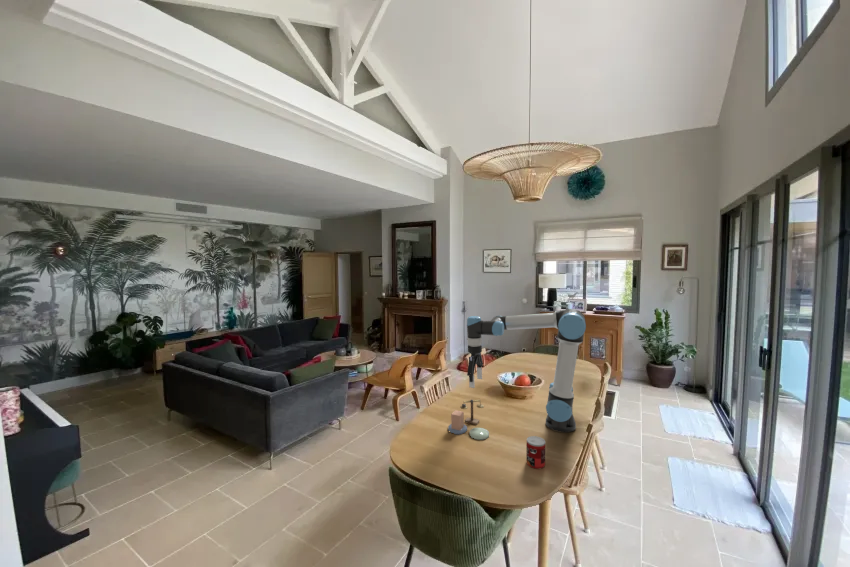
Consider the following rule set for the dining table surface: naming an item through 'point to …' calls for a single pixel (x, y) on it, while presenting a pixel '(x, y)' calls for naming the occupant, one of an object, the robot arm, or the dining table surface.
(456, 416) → the block
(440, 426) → the dining table surface
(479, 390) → the dining table surface
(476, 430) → the saucer sage near
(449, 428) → the saucer slate far
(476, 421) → the balance
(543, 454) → the canned food
